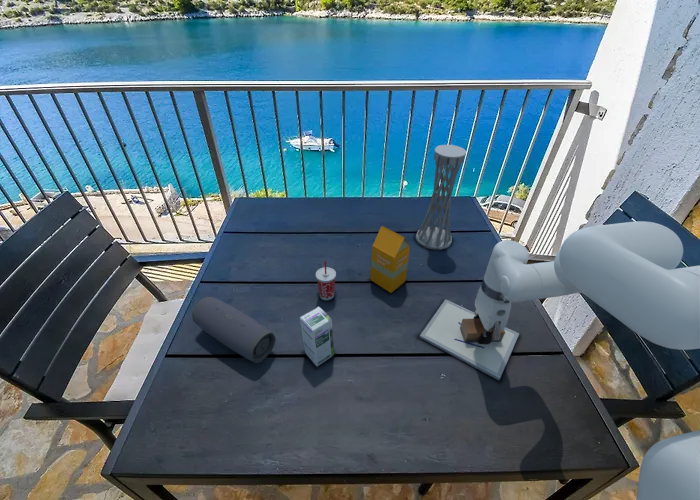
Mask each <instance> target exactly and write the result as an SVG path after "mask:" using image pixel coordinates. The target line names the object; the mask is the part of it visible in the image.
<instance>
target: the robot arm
mask: <svg viewBox="0 0 700 500" xmlns="http://www.w3.org/2000/svg"><path fill="white" fill-rule="evenodd" d="M683 255H684V245H683V243H682V241H681V238H680V237H679V236H678V234H677V233H676V232H675V231H673V230H672V229H670V228H669V227H668V226H665V225H663V224H660V223H657V222H652V221H645V220H644V221H642V220H641V221H640V220H639V221H638V220H637V221H627V222H619V223H610V224H601V225H594V226H587V227H583V228H580V229H577V230H576V231H573V232H572V233H571V234H569V235H568V236H567V237H566V238H565V240H564V241H563V243H562V245H561V246H560V248H559V250H558V252H557V253H556V255H555V256H554V260H551V261H544V262H535V263H528V261H529V259H530V254H529V249H527V247H526V246H525V245H524V244H522V243H520V242H518V241H515V240H505V239H504V240H502V241H499V242H497V243H496V244H495V245H494V247H493V249H492V251H491V255H490V258H489V261H488V263H487V267H486V270H485V273H484V275H483V279H482V282H481V285H480V286H479V288H478V291H477V293H476V295H475V300H474V307H475V310H474V311H473V312H474V314H475V316H474V319H477V318H480V320H481V322H482V324H483V326H484V331H483V333H481V336H480V338H479V341H478V343H479V344H490V343H491V341H492V339H493V340H500V331H503V330H504V329H505V327H506V326H507V324H508V320H509V318H510V314H511V309H512V303H524V302H530V301H535V300H542V299H549V298H558V297H564V296H568V295H574V294H583V295H584V296H586V297H587V298H589V299H590V300H591V301H592V302H594V303H595V304H596V305H598V306H599V307H600V308H602V309H603V310H604V311H606V312H607V313H609V315H611V316H613V317H614V318H615V319H617V320H618V321H619V322H621V323H622V324H623V325H624V326H626V327H627V328H629V330H631V331H632V332H634V333H635V334H637V335H639V337H641V338H644V339H645V340H647V341H648V342H650V343H653V344H655V345H657V346H661V347H663V348H667V349H671V350H681V351H690V350H699V349H700V265H693V266H686V267H685V266H684V267H679V268H677V267H678V266H679V264H680V263H681V261H682V259H683ZM489 329H492V332H488V331H489ZM635 500H700V429H698V430H693V431H691V432H684V433H681V434H677V435H673V436H670V437H667V438H663V439H661V440H659V441H658V442H656V443H654V444H653V445H652V446H651V447H650V448H649V449H648V450H647V451H646V453H645V454H644V455H643V458H642V460H641V463H640V468H639V474H638V482H637V491H636V499H635Z"/></svg>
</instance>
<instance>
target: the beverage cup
mask: <svg viewBox="0 0 700 500" xmlns="http://www.w3.org/2000/svg"><path fill="white" fill-rule="evenodd" d="M323 262H324V263H323V265H324V267H321V268H318V269H317V270H316V272H315V278H316V281H317V288H318V294H319V298H320V299H321V300H323V301H330V300H332V299H333V298H334V297H335V289H336V278H337V272H336V270H335V269H334V268H332V267H329V266H327V260H324V261H323Z"/></svg>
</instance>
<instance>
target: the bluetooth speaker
mask: <svg viewBox="0 0 700 500" xmlns="http://www.w3.org/2000/svg"><path fill="white" fill-rule="evenodd" d="M191 318H192V322H193V323H194V324H196V326H198V327H199V328H200V329H201V330H203V331H204V332H205V333H207V335H209V336H210V337H211V338H213V339H215V340H216V341H217V342H218V343H219V344H221V345H222V346H224V347H226V348H228V349H230V350H231V351H232V352H234V353H236V354H238V355H240V356H242V357H243V358H245V359H246V360H248V361H251V362H252V363H255V364H259V363H261V362H263V361H264V360H265V359H266V358H267V357H268V356H269V355H270V354H271V352H272V351H273V350H274V347H275V345H276V335H275V333H273V332H272V330H270V329H269V328H267V327H265V326H264V325H263V324H261V322H258V321H257V320H255V319H254V318H252V317H250V316H249V315H247V314H246V313H244V312H242V311H241V310H239V309H237V308H235V307H234V306H232V305H230V304H228V303H226V302H224V301H222V300H220V299H219V298H215V297H213V296H206V297H203V298H201V299H200V300H199V301H198V302H197V303H196V305H195V306H194V308H193V310H192V317H191Z"/></svg>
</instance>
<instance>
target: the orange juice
mask: <svg viewBox="0 0 700 500" xmlns="http://www.w3.org/2000/svg"><path fill="white" fill-rule="evenodd" d="M374 239H375V240H374V241H373V244H372V245H371V246H372V247H371V259H370V281H371V282H372V283H375V284H376V285H378V286H379V287H381V288H382V289H384V290H386V291H387V292H389V293H390V294H392V293H393V292H395V290H397V289H398V288H400V287H401V286H402V285H404V283H405V282H406V279H407V273H408V267H409V259H410V253H411V252H410V251H411V245H410V243H409V241H408V240H407V238H406V237H405V236H403V235H402V234H399V233H398V232H395V231H394V230H392V229H390V228H388V227H386V226H384V225H381V226H380V228H379V231H378V233H377V235H376V237H375V238H374Z"/></svg>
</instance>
